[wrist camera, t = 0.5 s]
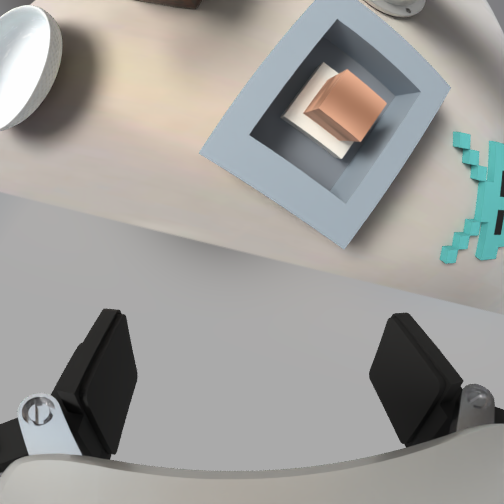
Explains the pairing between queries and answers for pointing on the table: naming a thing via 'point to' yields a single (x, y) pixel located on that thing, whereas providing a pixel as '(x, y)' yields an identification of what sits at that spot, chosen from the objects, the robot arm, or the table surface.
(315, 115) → the terracotta cube
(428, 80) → the slot box
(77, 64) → the table surface
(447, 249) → the alien figure
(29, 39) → the cereal bowl
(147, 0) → the brown manual coffee grinder
